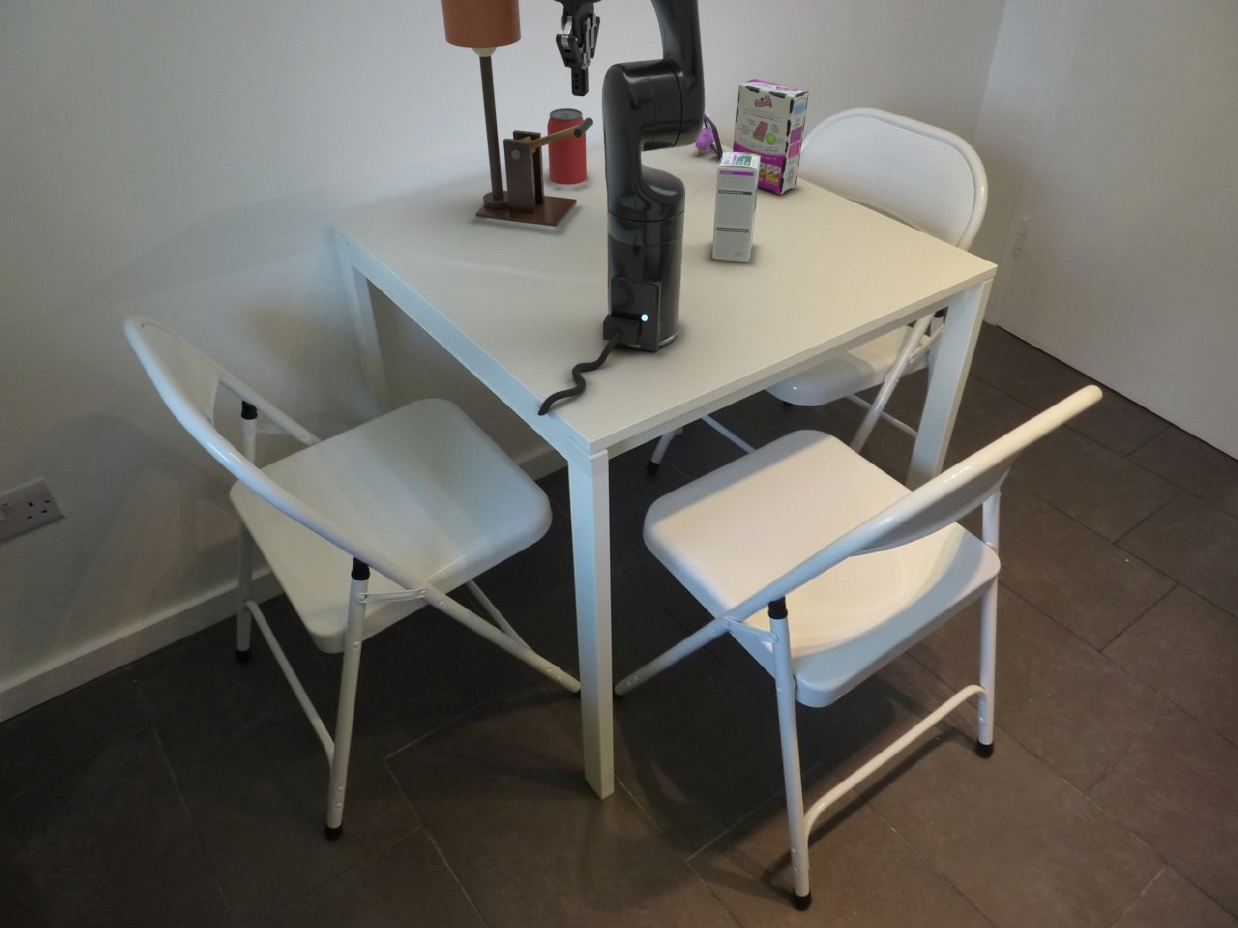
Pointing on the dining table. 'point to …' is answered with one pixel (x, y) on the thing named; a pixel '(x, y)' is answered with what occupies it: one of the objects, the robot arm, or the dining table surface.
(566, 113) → the beer can
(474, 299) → the dining table surface
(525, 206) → the lamp base
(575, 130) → the switch
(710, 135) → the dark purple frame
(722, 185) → the syrup box
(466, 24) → the lamp
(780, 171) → the candy bar box
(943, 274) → the dining table surface
